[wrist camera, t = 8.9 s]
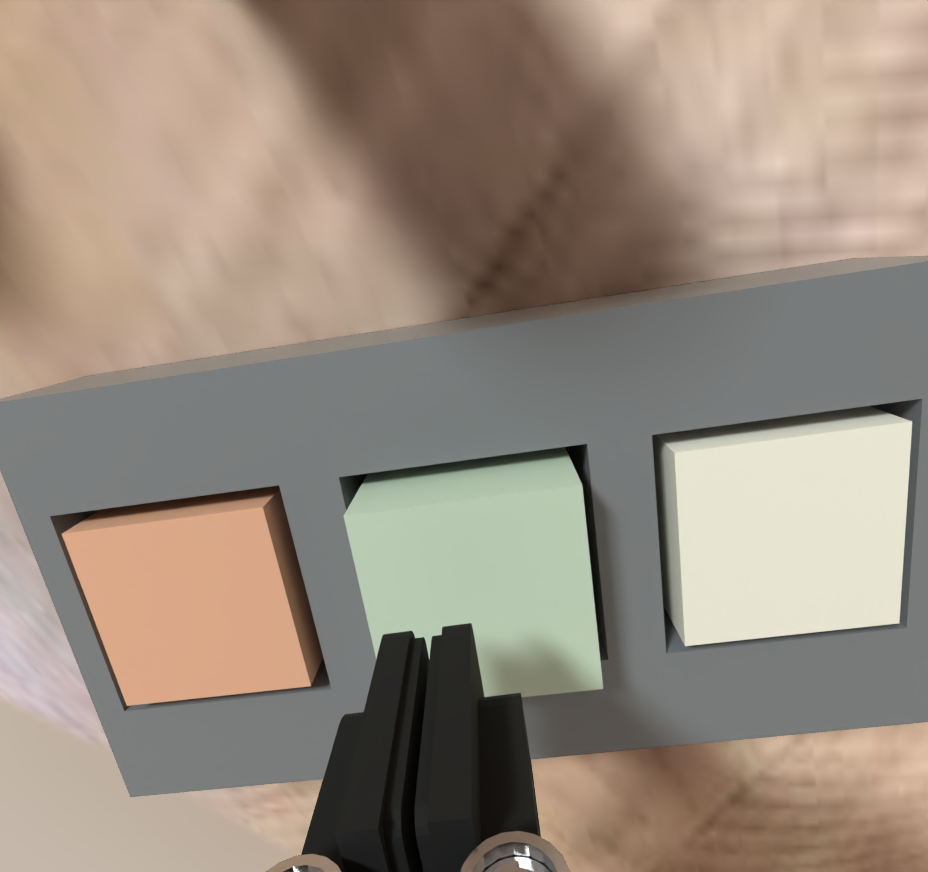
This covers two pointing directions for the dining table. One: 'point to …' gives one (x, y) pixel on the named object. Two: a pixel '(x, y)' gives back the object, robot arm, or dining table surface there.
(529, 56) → the dining table surface
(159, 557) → the terracotta button
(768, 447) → the cream button
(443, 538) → the sage button
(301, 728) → the button panel
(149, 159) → the dining table surface
